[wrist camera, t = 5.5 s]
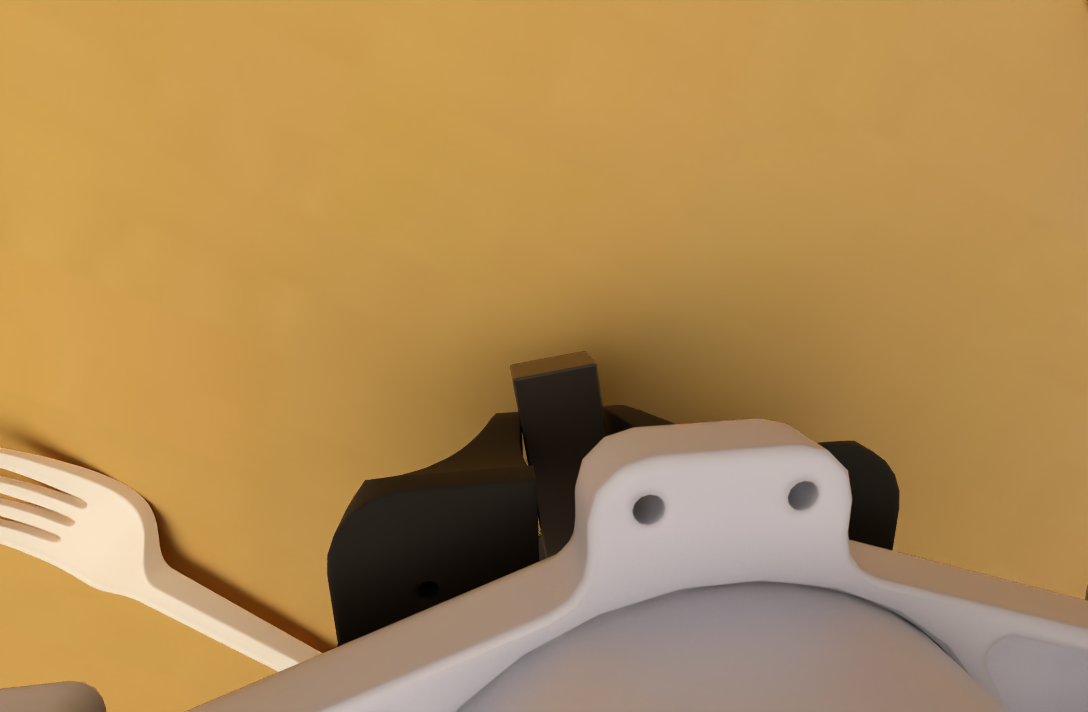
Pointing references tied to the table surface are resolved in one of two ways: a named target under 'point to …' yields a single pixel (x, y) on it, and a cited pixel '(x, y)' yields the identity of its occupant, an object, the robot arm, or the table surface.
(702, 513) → the robot arm
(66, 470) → the fork
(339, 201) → the table surface
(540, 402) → the pot
